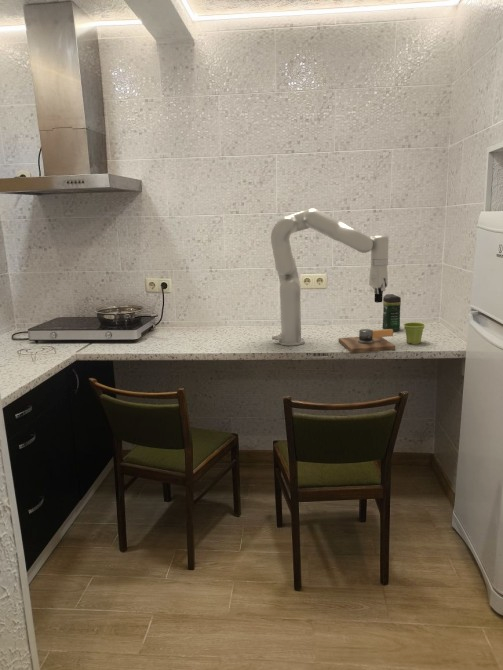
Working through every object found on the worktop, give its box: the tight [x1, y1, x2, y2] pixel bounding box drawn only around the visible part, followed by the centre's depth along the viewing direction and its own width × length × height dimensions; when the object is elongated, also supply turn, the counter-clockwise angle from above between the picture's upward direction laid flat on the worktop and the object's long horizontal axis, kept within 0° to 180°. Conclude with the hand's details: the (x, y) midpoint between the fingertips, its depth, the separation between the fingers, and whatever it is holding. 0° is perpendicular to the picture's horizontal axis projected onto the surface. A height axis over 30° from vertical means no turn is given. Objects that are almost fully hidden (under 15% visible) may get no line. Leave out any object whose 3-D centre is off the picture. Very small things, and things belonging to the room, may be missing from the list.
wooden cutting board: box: [338, 336, 396, 354], centre depth 221 cm, size 20×20×3 cm
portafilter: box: [358, 328, 394, 341], centre depth 221 cm, size 8×16×4 cm, turn 96°
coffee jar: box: [382, 293, 402, 332], centre depth 248 cm, size 10×8×19 cm
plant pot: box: [403, 321, 426, 345], centre depth 223 cm, size 9×9×9 cm
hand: (378, 302), depth 225 cm, fingers closed
